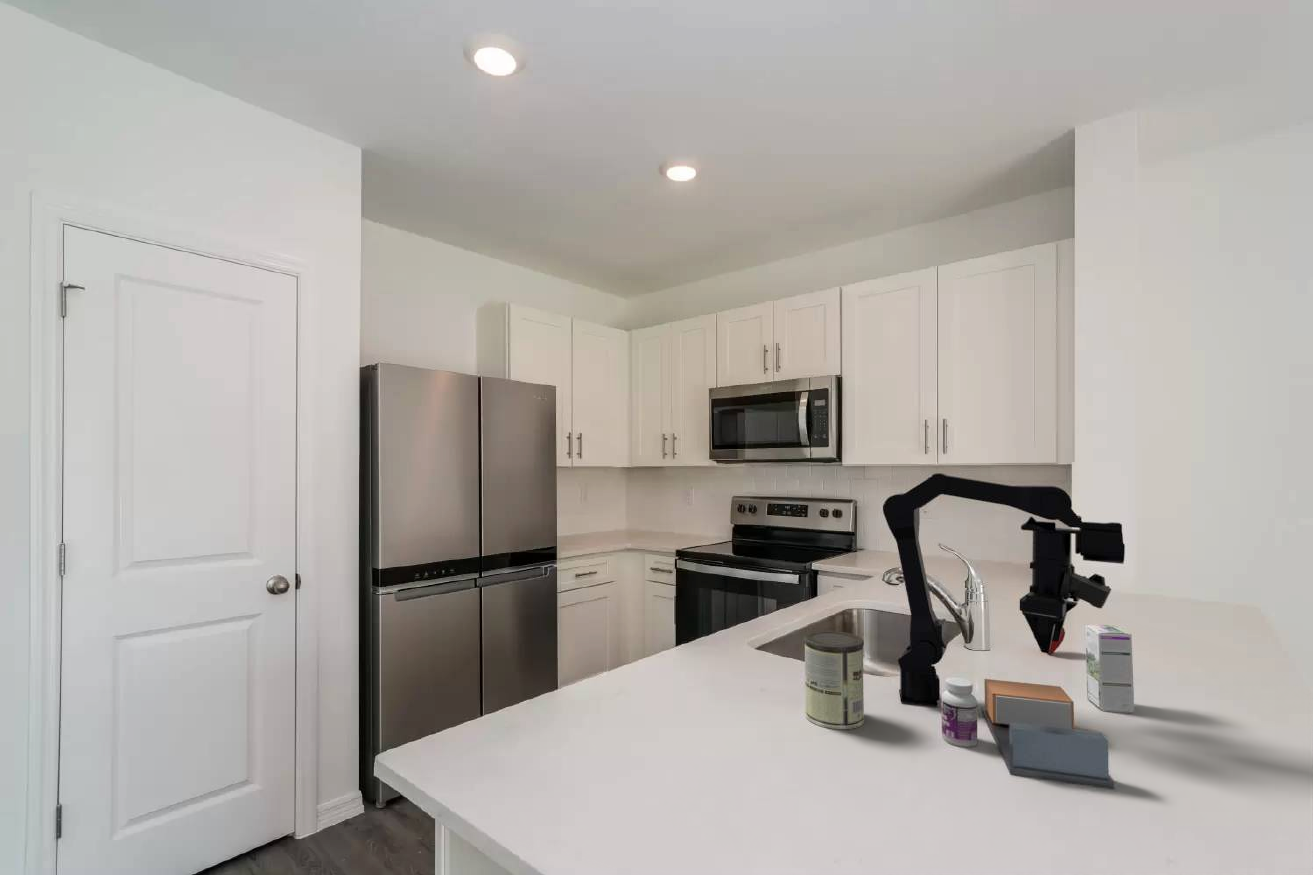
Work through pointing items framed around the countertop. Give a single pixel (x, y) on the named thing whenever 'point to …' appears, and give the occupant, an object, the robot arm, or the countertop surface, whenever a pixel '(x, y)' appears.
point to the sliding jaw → (1028, 704)
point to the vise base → (1052, 753)
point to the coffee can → (834, 679)
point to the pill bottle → (959, 713)
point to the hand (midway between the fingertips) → (1050, 646)
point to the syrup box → (1109, 668)
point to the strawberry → (1056, 643)
